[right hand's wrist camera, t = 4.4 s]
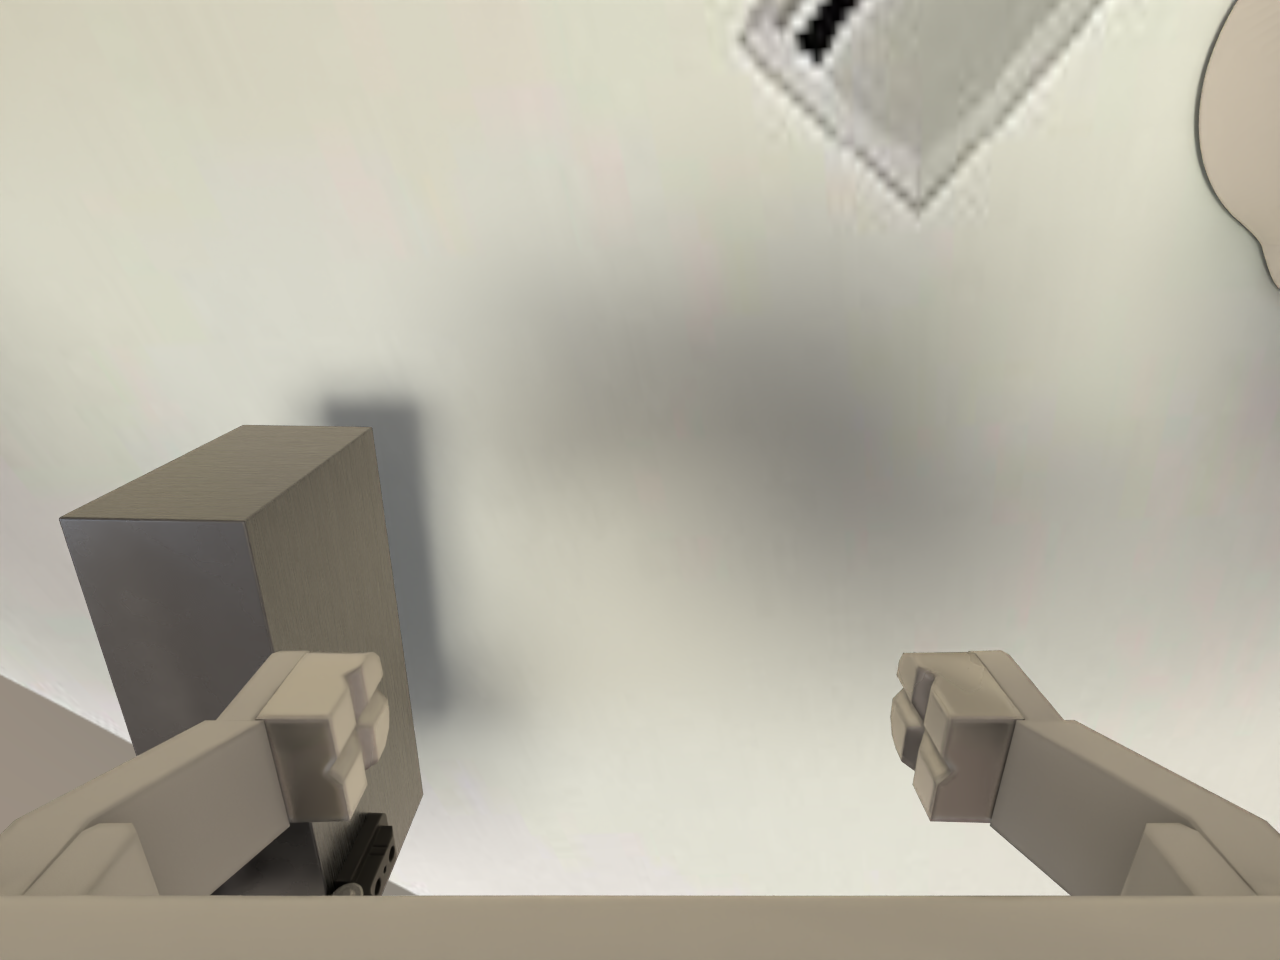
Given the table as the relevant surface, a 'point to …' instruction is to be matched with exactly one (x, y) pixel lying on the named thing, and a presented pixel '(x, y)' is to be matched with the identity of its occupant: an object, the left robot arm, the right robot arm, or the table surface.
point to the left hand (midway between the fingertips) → (310, 825)
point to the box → (251, 606)
